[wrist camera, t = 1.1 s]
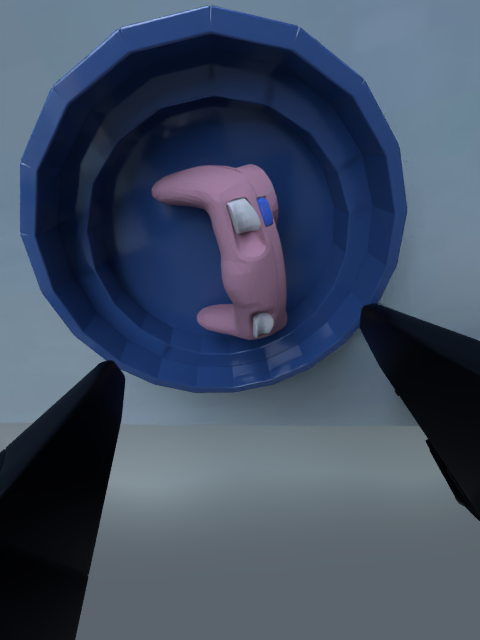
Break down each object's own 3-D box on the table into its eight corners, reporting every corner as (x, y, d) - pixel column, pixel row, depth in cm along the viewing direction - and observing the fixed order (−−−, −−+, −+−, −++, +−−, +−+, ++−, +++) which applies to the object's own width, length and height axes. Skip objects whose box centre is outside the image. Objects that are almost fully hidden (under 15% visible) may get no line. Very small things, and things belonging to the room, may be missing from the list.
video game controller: (245, 298, 21) (308, 340, 15) (195, 324, 19) (246, 379, 14) (215, 156, 15) (301, 147, 10) (140, 176, 13) (194, 178, 8)
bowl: (378, 5, 11) (460, -59, 8) (349, 325, 22) (378, 362, 18) (-16, 101, 12) (-117, 85, 8) (145, 369, 22) (133, 414, 19)
